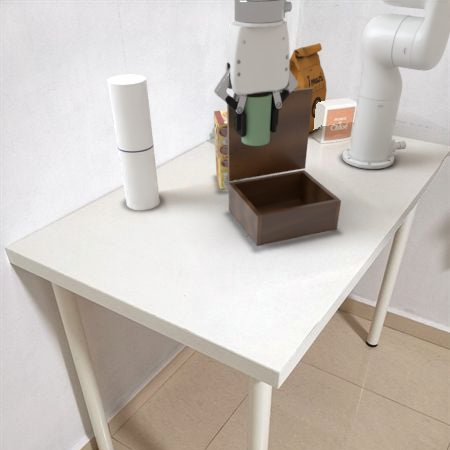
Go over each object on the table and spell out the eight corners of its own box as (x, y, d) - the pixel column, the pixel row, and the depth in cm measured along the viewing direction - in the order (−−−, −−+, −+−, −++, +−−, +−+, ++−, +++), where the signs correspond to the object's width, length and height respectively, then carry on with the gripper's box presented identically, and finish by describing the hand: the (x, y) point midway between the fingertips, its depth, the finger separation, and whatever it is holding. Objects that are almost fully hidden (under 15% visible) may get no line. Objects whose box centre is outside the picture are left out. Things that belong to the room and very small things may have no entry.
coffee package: (327, 129, 136) (338, 44, 122) (299, 140, 130) (307, 52, 116) (301, 121, 142) (308, 39, 128) (273, 131, 135) (277, 46, 122)
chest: (336, 232, 91) (341, 200, 87) (256, 249, 87) (257, 216, 83) (301, 200, 102) (304, 169, 98) (228, 213, 98) (228, 182, 94)
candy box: (238, 191, 106) (238, 122, 96) (219, 193, 106) (217, 123, 96) (232, 175, 113) (232, 109, 103) (214, 176, 112) (212, 110, 103)
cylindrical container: (126, 211, 99) (106, 85, 84) (126, 196, 105) (107, 75, 89) (160, 208, 100) (146, 83, 84) (158, 193, 106) (145, 73, 90)
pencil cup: (262, 134, 86) (264, 87, 81) (274, 143, 83) (276, 95, 78) (237, 138, 85) (237, 91, 80) (247, 147, 81) (248, 99, 76)
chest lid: (313, 88, 88) (300, 81, 91) (228, 98, 83) (218, 91, 87) (305, 168, 97) (294, 159, 101) (229, 181, 93) (220, 171, 97)
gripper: (297, 5, 77) (289, 119, 88) (198, 12, 72) (203, 131, 83) (320, 12, 71) (308, 132, 83) (214, 19, 67) (217, 146, 78)
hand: (255, 131), depth 83 cm, fingers closed on pencil cup, 5 cm apart
